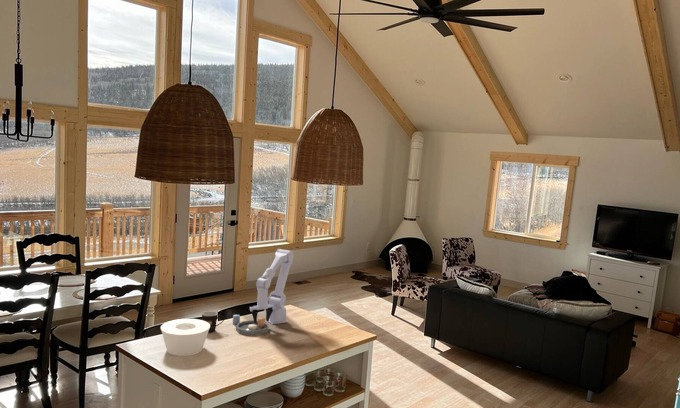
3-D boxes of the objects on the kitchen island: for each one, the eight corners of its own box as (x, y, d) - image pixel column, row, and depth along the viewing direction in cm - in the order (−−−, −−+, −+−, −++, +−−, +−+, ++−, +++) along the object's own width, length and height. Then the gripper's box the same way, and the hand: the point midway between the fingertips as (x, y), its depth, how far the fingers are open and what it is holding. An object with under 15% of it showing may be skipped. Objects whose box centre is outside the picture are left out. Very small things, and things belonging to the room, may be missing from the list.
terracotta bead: (262, 325, 300) (263, 317, 300) (265, 327, 297) (266, 319, 297) (256, 326, 298) (256, 318, 298) (259, 328, 295) (259, 320, 294)
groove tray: (260, 323, 307) (261, 319, 307) (273, 333, 292) (273, 328, 292) (231, 326, 298) (232, 322, 298) (243, 337, 283) (243, 332, 282)
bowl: (218, 351, 261) (218, 328, 259) (172, 362, 244) (173, 338, 243) (195, 337, 278) (196, 315, 277) (151, 346, 262) (152, 323, 260)
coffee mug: (198, 332, 286) (198, 314, 285) (206, 327, 294) (207, 310, 293) (216, 335, 283) (217, 317, 282) (224, 330, 291) (225, 313, 290)
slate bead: (238, 322, 306) (238, 314, 306) (240, 324, 303) (240, 316, 302) (231, 323, 304) (232, 314, 303) (234, 325, 301) (234, 317, 300)
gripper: (270, 295, 303) (269, 317, 305) (247, 298, 295) (246, 321, 297) (276, 298, 297) (275, 321, 299) (252, 301, 289) (251, 324, 291)
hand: (261, 321), depth 297 cm, fingers open, 7 cm apart
